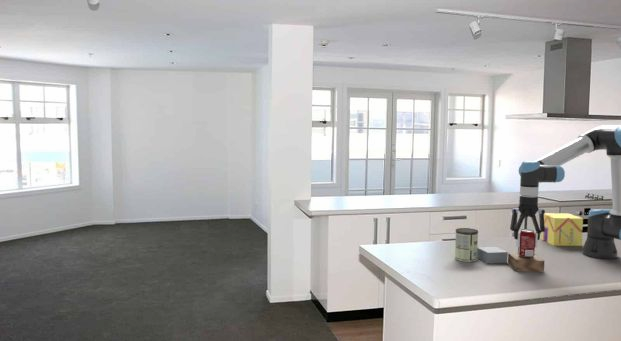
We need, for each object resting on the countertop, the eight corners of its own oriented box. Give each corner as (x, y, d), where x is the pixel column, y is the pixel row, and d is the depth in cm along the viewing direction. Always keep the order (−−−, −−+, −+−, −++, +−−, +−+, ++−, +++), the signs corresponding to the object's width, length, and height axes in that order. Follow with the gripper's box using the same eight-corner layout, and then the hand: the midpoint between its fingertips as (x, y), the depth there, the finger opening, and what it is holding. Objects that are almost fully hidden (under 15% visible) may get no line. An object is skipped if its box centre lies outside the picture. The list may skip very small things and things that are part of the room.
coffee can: (456, 255, 242) (457, 227, 241) (478, 257, 238) (479, 229, 237) (453, 260, 233) (454, 231, 232) (475, 263, 228) (476, 233, 227)
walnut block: (534, 264, 227) (535, 253, 226) (543, 272, 215) (544, 260, 214) (507, 263, 228) (508, 252, 228) (515, 270, 216) (515, 259, 216)
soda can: (535, 259, 217) (537, 232, 216) (519, 258, 219) (520, 231, 217) (532, 255, 224) (533, 229, 223) (516, 254, 225) (517, 228, 224)
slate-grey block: (496, 256, 239) (496, 246, 239) (507, 262, 230) (507, 252, 229) (476, 257, 238) (477, 247, 238) (487, 263, 228) (487, 252, 228)
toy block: (581, 245, 264) (583, 218, 263) (553, 245, 264) (554, 218, 263) (567, 239, 279) (568, 213, 278) (540, 239, 279) (542, 213, 278)
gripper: (549, 195, 221) (546, 245, 223) (503, 194, 224) (501, 243, 226) (555, 197, 214) (552, 249, 216) (508, 196, 216) (505, 247, 218)
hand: (526, 246), depth 221 cm, fingers open, 7 cm apart
